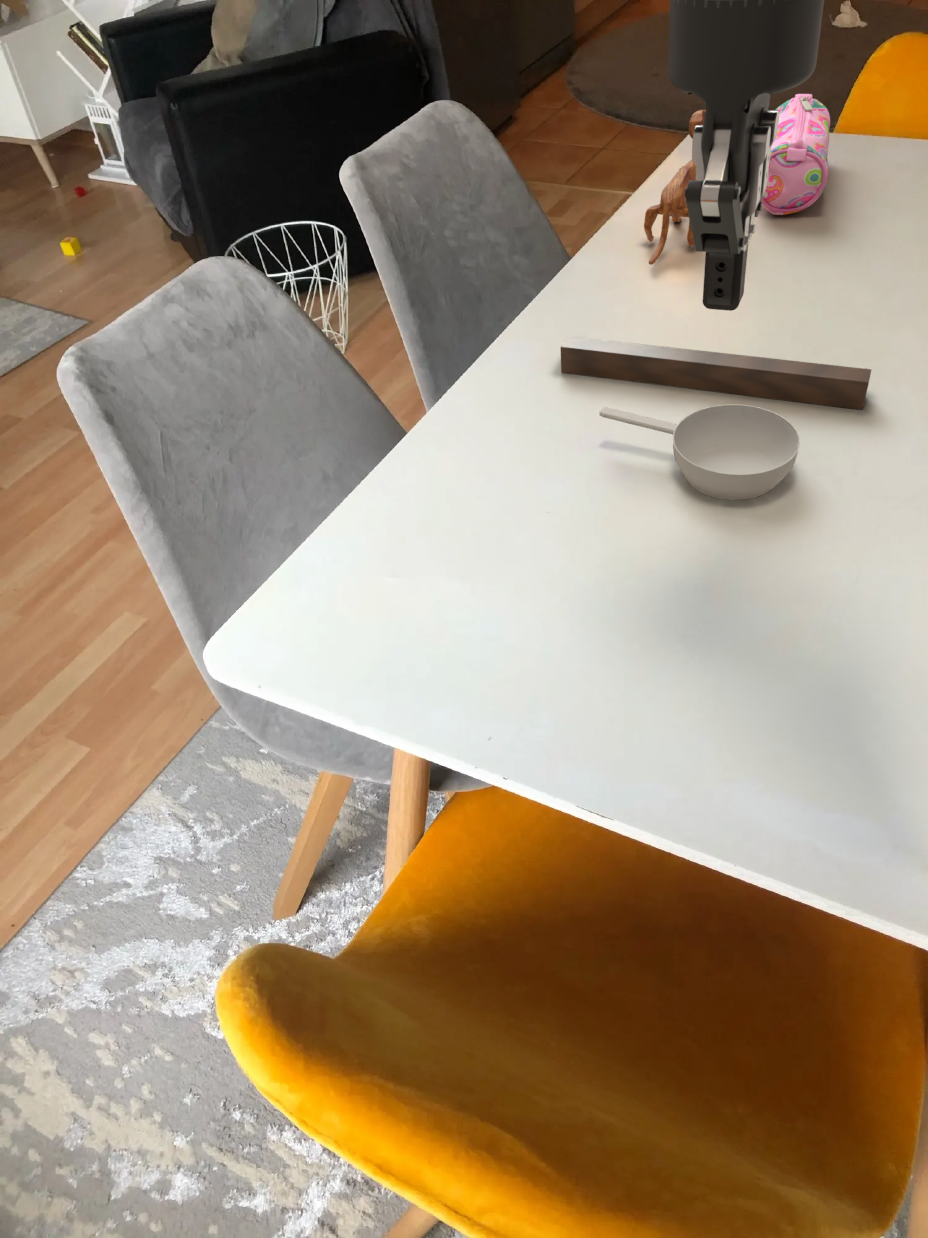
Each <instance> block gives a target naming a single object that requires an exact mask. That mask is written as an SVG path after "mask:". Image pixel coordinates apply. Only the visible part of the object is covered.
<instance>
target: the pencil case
mask: <svg viewBox="0 0 928 1238" xmlns="http://www.w3.org/2000/svg"><path fill="white" fill-rule="evenodd" d="M775 110H779V123H778V131H777V137H776V139H775V140H774V142H773V144H772V146H771V153H770V162H769V171H768V179H767V187H766V190H765V192H764V193H763V195H762V199H761V202H762V207H763V208H764V209H765V210H766V211H768V212H769V213H770V214H772V215H774V216H776V215H777V216H785V215H790V214H795V213H799V212H802V211H803V210H806V209H807V208H809V207H810V206H812V205H813V204H814V203H815V202H816V201H817V200H818V199H819V198H820V196H821V195H822V194H823V192H824V190H825V188H826V185H827V181H828V177H829V176H828V174H829V160H828V154H829V144H830V126H831V116H830V112H829V110H828V108H827V107H826V106H825V105H824V104H823V103H822V102H821V101H819V100H818V99H816V98H813V94H812V93H797V94H795V95H794V97H792V98H790V99H788V100H786V101H784V102H783V103H782V104H780V105H779V106H778V107H776V108H775Z"/></svg>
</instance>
